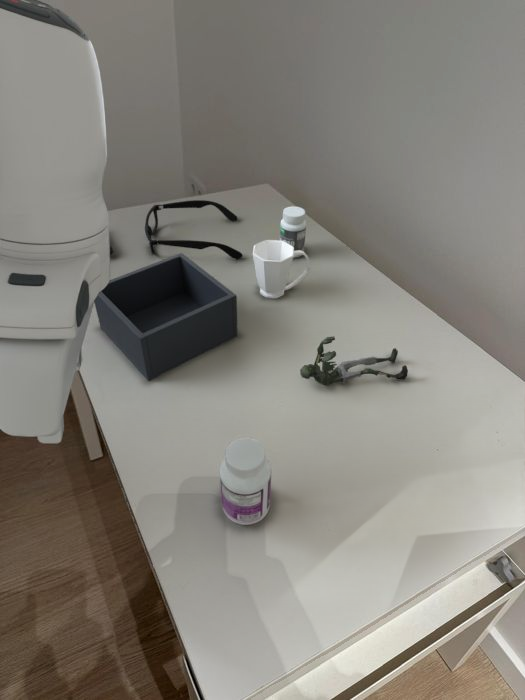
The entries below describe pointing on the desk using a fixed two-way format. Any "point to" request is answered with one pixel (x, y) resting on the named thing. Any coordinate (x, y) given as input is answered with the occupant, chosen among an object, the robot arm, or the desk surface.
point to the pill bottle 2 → (293, 228)
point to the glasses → (189, 243)
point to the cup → (275, 267)
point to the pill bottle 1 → (245, 481)
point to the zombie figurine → (345, 367)
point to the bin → (166, 314)
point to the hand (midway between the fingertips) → (62, 399)
